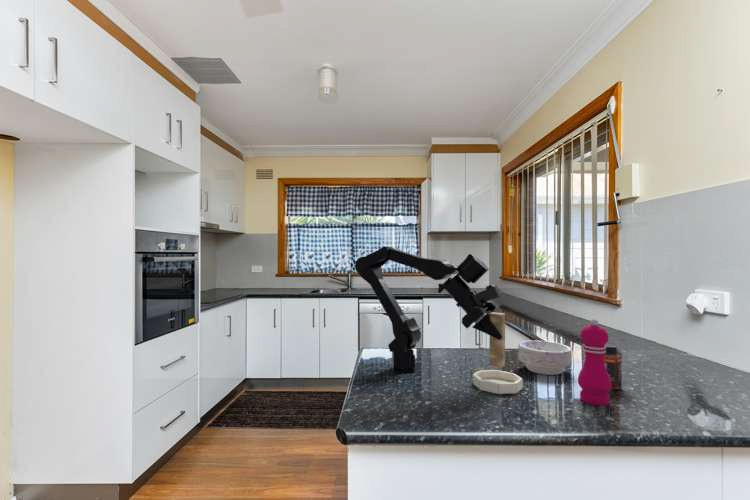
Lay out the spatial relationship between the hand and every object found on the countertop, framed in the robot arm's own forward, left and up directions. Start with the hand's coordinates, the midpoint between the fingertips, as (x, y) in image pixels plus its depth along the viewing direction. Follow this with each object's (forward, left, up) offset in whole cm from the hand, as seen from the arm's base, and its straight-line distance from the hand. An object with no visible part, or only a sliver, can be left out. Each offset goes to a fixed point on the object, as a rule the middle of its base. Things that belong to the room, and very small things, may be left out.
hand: (502, 337), depth 103 cm
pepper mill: (+18, -12, -13) cm, 26 cm away
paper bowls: (+20, +13, -14) cm, 27 cm away
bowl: (-1, +1, -13) cm, 13 cm away
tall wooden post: (-1, +1, -8) cm, 8 cm away
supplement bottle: (+29, -3, -13) cm, 32 cm away
